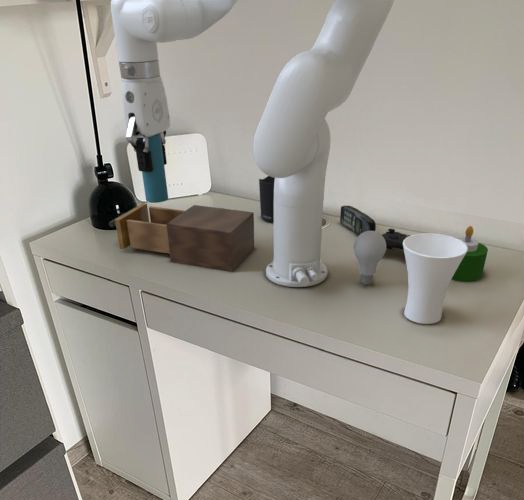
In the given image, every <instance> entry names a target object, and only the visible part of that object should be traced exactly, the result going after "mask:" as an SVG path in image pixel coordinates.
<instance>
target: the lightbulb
mask: <svg viewBox="0 0 524 500" xmlns="http://www.w3.org/2000/svg"><path fill="white" fill-rule="evenodd" d="M353 252H354V254H355V257H356V259H357V262H358V267H359V282H360V283H361V284H363V285H364V286H368V285H370V284H372V283H373V281H374V276H375V274H376V271H377V268H378V265H379V263H380V261H381V260H382V258H383V257H384V255H385V254H386V252H387V249H386V241H385V239H384V237H383V236H382V234H381V233H380V232H378V231H376V230H375V231H366V232H363V233H361V234H360V235H359V236H358V235H357V237H356V238H355V240H354V243H353Z"/></svg>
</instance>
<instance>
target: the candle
mask: <svg viewBox="0 0 524 500" xmlns="http://www.w3.org/2000/svg"><path fill="white" fill-rule="evenodd" d="M464 233H465V237H457V239H459V240H461V241H463V242H464V243H465V244H466V245H467V247H468V251H467V253H466V254H465V256H464V258H463V259H462V261H461V263H460V264H459V266H458V268H457V270H456V272H455V273H454V275H453V277H452V279H451V280H453V281H457V282H475V281H478V280H480V279H481V278H482V277H483V273H484V269H485V266H486V260H487V256H488V251H489V249H488V247H487V246H486V245H485V244H483V243H481V242H479V241H478V240H477V239H476V238H472V236H473V234H474V228H473V226H472V225H469V226H468V227H467V228H466V230H465V231H464Z"/></svg>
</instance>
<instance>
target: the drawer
mask: <svg viewBox="0 0 524 500" xmlns="http://www.w3.org/2000/svg"><path fill="white" fill-rule="evenodd" d="M184 211H185V210H182V209H174V208H167V207H160V206H151V205H149V207H148V203H143V202H142V203H141V204H139V205H137V206H135V207H133V208H132V209H130V210H128V211H127V212H125V213H123V214H121V215H119V216H118V217H115V218H114V219H112V220H111V221H109V222H108V226H109V227H110V228H114V227H115V228H116V234H117V240H118V241H117V242H118V246H119V247H118V248H119V250H126V249H127V248H129V247H130V249H137V250H143V251H150V252H155V253H163V254H168V255H170V251H169V242H168V233H167V223H168V222H170V221H171V220H173V219H174V218H176V217H177V216H179V215H180V214H182V213H183V212H184Z"/></svg>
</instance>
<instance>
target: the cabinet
mask: <svg viewBox="0 0 524 500" xmlns="http://www.w3.org/2000/svg"><path fill="white" fill-rule="evenodd" d="M254 213H255V212H254V211H246V210H238V209H230V208H223V207H214V206H206V205H197V204H193V205H191V206H190V207H189V208H188V209H186V210H184V212H183V213H182V214H180V215H179V216H177V217H176V218H174V219H173V220H171V221H170V222H168V223H167V233H168V242H169V251H170V254H169V258H170V260H169V261H170V262H171V263H177V264H181V265H188V266H189V265H190V266H195V267H202V268H208V269H212V270H213V269H215V270H221V271H225V272H233V271H235V269H236V268H237V267H238V266H239V265H240V264H241V263H242V262H243V261H244V260H245V259H246V258H247V257H248V256H249V255H250V254H251V253H252V252H253V251H254V250H255V215H254Z"/></svg>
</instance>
